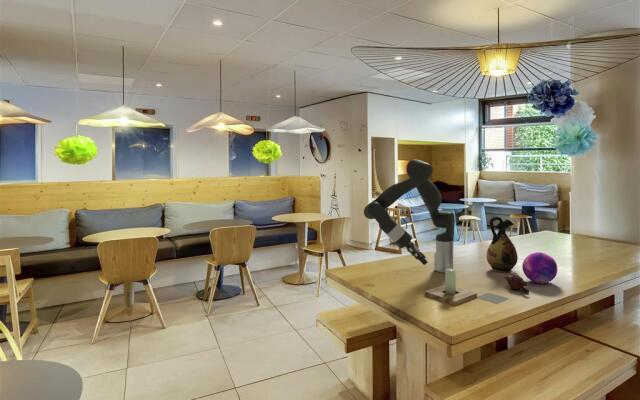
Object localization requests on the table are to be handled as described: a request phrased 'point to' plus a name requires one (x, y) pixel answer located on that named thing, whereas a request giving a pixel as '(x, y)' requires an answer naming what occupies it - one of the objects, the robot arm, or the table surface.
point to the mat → (492, 298)
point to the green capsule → (450, 281)
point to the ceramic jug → (501, 248)
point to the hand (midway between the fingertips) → (425, 261)
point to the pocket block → (455, 299)
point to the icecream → (517, 283)
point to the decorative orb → (539, 267)
